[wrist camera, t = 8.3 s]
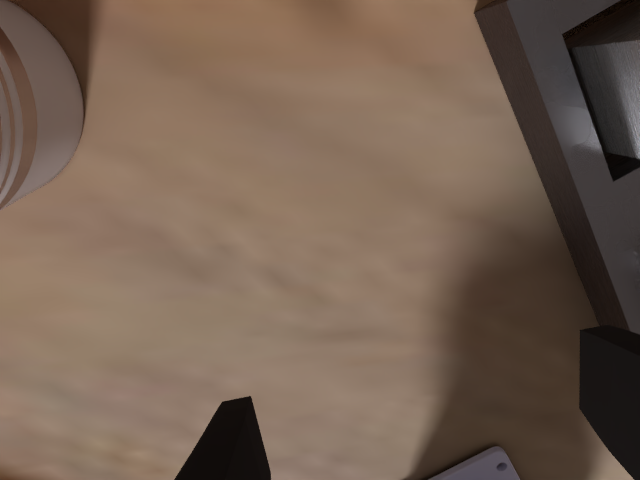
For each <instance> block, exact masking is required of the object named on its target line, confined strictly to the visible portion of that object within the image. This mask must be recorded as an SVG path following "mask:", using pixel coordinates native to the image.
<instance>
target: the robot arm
mask: <svg viewBox="0 0 640 480" xmlns="http://www.w3.org/2000/svg"><path fill="white" fill-rule="evenodd" d="M579 408H580V410H581V411H582V413H583V414H584V416H585V417H586V419H587V420H588V422H589V423H590V425H591V426H592V428H593V429H594V431H595V432H596V433H597V435H598V436H599V438H600V439H601V440H602V442H603V443H604V445H605V446H606V447H607V449H608V450H609V451H610V452H611V454H612V455H613V456H614V457H615V458H616V459H617V461H618V462H619V463H620V464H621V465H622V466H623V467H624V468H625V470H626V471H627V472H628V473H629V474H630V475H631V476H632V477H633V479H634V480H640V334H637V333H634V332H631V331H628V330H625V329H621V328H618V327H614V326H610V325H604V326H599V327H594V328H589V329H584V330H580V401H579ZM500 463H501V464H500ZM498 464H500V465H498ZM174 480H271V472H270V468H269V464H268V460H267V456H266V452H265V449H264V445H263V441H262V437H261V433H260V429H259V425H258V422H257V418H256V414H255V410H254V406H253V402H252V398H251V396H249V397H244V398H239V399H234V400H229V401H224V402H222V403H221V405H220V406H219V407H218V409H217V411H216V412H215V414H214V416H213V417H212V419H211V421H210V423H209V424H208V426H207V428H206V429H205V431H204V433H203V435H202V436H201V438H200V440H199V441H198V443H197V445H196V446H195V448H194V450H193V451H192V453H191V454H190V456H189V457H188V459H187V461H186V462H185V464H184V465H183V467H182V468H181V470H180V472H179V473H178V475H177V476H176V478H175V479H174ZM429 480H520V478H519V476H518V474H517V472H516V470H515V469H514V467H513V465H512V463H511V461H510V459H509V458H508V456H507V454H506V452H505V451H504V450H503V448H501V447H492V448H489V449H487V450H485V451H483V452H482V453H480V454H478V455H476V456H474V457H472V458H470V459H468V460H466V461H464V462H462V463H460V464H458V465H456V466H454V467H452V468H450V469H448V470H446V471H444V472H442V473H440V474H438V475H436V476H434V477H432V478H430V479H429Z"/></svg>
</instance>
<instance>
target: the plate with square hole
mask: <svg viewBox="0 0 640 480" xmlns="http://www.w3.org/2000/svg"><path fill="white" fill-rule="evenodd" d="M618 1H620V0H495V1H493V2H491V3H490V4H488V5H486V6H485V7H483V8H481V9H480V10H478V11H476V12H474V14H475V17H476V19H477V22H478V24H479V27H480V29H481V32H482V34H483V37H484V39H485V42H486V44H487V47H488V49H489V52H490V54H491V57H492V59H493V62H494V64H495V66H496V69H497V71H498V74H499V76H500V79H501V81H502V84H503V86H504V89H505V91H506V94H507V96H508V99H509V101H510V104H511V106H512V109H513V111H514V114H515V116H516V119H517V121H518V124H519V126H520V129H521V131H522V134H523V136H524V139H525V141H526V144H527V146H528V149H529V151H530V154H531V156H532V159H533V161H534V163H535V166H536V168H537V171H538V173H539V176H540V178H541V181H542V183H543V186H544V188H545V191H546V193H547V196H548V198H549V201H550V203H551V206H552V208H553V211H554V213H555V216H556V218H557V221H558V223H559V226H560V228H561V231H562V233H563V236H564V238H565V241H566V243H567V246H568V248H569V251H570V253H571V256H572V258H573V260H574V263H575V265H576V268H577V270H578V273H579V275H580V278H581V280H582V283H583V285H584V288H585V290H586V293H587V295H588V298H589V300H590V303H591V305H592V308H593V310H594V313H595V315H596V318H597V320H598V323H599V325H600V326H604V325H610V326H614V327H618V328H621V329H625V330H628V331H631V332H634V333H637V334H640V159H637V158H632V157H628V156H623V155H618V154H613V153H608V152H603V151H602V149H601V146H600V143H599V140H598V137H597V134H596V131H595V128H594V126H593V123H592V120H591V117H590V114H589V111H588V108H587V105H586V102H585V100H584V97H583V94H582V91H581V88H580V85H579V82H578V79H577V76H576V74H575V71H574V68H573V65H572V62H571V59H570V56H569V53H568V50H567V48H566V45H565V42H564V39H563V36H562V34H563V33H565V32H567V31H568V30H570V29H572V28H573V27H575V26H577V25H579V24H580V23H582V22H584V21H586V20H587V19H589V18H591V17H592V16H594V15H596V14H598V13H599V12H601V11H603V10H605V9H606V8H608V7H610V6H611V5H613V4H615V3H617V2H618Z"/></svg>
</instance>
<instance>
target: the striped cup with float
mask: <svg viewBox="0 0 640 480" xmlns="http://www.w3.org/2000/svg"><path fill="white" fill-rule="evenodd" d="M83 119H84V107H83V98H82V92H81V88H80V84H79V81H78V78H77V75H76V73H75V70H74V68H73V66H72V64H71V62H70V60H69V58H68V56H67V55H66V53H65V51H64V50H63V48H62V47H61V45H60V44H59V43H58V41H57V40H56V39H55V38H54V36H53V35H52V34H51V33H50V32H49V31H48V30H47V29H46V28H45V27H44V26H43V25H42V24H41V23H40V22H39V21H38V20H37V19H35V18H34V17H33V16H32V15H30V14H29V13H28V12H26V11H25V10H23V9H22V8H20V7H19V6H17V5H16V4H14V3H12V2H10V1H9V0H0V211H1V210H3V209H4V208H6V207H8V206H9V205H11V204H13V203H14V202H16V201H18V200H20V199H21V198H23V197H25V196H27V195H28V194H30V193H32V192H34V191H35V190H37V189H39V188H41V187H42V186H44V185H46V184H47V183H48V182H50V181H51V180H53V179H54V178H55V177H56V176H57V175H58V174H59V173H60V172H61V171H62V170H63V169H64V168H65V167H66V165H67V164H68V163H69V161H70V160H71V158H72V156H73V155H74V153H75V151H76V149H77V146H78V144H79V141H80V137H81V134H82V128H83Z"/></svg>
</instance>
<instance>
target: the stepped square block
mask: <svg viewBox="0 0 640 480" xmlns="http://www.w3.org/2000/svg"><path fill="white" fill-rule="evenodd" d="M564 42H565V45H566V48H567V50H568V53H569V56H570V59H571V62H572V65H573V68H574V71H575V74H576V76H577V79H578V82H579V85H580V88H581V91H582V94H583V97H584V100H585V102H586V105H587V108H588V111H589V114H590V117H591V120H592V123H593V126H594V128H595V131H596V134H597V137H598V140H599V143H600V146H601V149H602V151H604V152H608V153H613V154H618V155H623V156H628V157H632V158H637V159H640V0H635V1H633V2H631V3H629V4H627V5H626V6H624V7H622V8H620V9H619V10H617V11H615V12H613V13H611V14H610V15H608V16H606V17H604V18H603V19H601V20H599V21H597V22H596V23H594V24H592V25H590V26H588V27H587V28H585V29H583V30H581V31H580V32H578V33H576V34H574V35H573V36H571V37H569V38H567V39H565V40H564Z"/></svg>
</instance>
